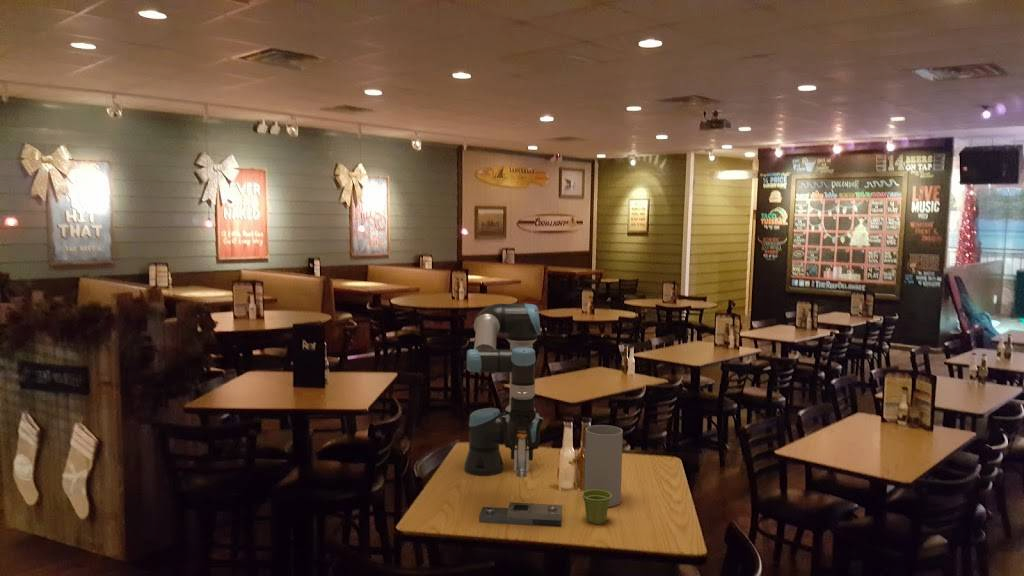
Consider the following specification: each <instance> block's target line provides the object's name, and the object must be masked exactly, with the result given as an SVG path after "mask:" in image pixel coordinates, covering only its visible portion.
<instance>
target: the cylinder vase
mask: <svg viewBox="0 0 1024 576" xmlns="http://www.w3.org/2000/svg"><path fill="white" fill-rule="evenodd" d="M623 431H624V430H623V429H622V428H621V427H617V426H615V425H607V424H598V425H597V424H596V425H590V426H588V427H586V428H585V441H584V443H585V445H584V447H585V449H584V450H585V451H584V485H583V486H584V487H583V489H584V491H587V490H604V491H607V492H609V493H610V494H611V495H612V496H611V498H610V501H609V504H608V508H610V507H612V508H613V507H616V506H618V505H620V503H621V500H622V474H623V472H622V471H623V470H622V469H623V468H622V467H623V463H622V462H623V437H624V436H623V434H624V433H623ZM584 491H583V492H584Z"/></svg>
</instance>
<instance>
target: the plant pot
mask: <svg viewBox="0 0 1024 576" xmlns="http://www.w3.org/2000/svg"><path fill="white" fill-rule="evenodd" d="M611 496H612V495H611V494H610V493H609V492H607V491H604V490H587V491H583V492H581V497H582V499H583V502H584V508H585V515H586V516H585V517H586V521H587V522H588V523H589V522H590V523H589V524H592V523H593V524H594V525H602V524H604V523H605V522H606V521H607V516H608V511H609V510H608V508H609V507H608V504H609V501H610V498H611Z"/></svg>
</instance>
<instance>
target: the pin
mask: <svg viewBox="0 0 1024 576" xmlns="http://www.w3.org/2000/svg"><path fill="white" fill-rule="evenodd" d="M516 437H517V444H516V448H517V470H516V476H517V478H526V477H527V475H528V474H527V473H528V471H526V451H527V449H528V444H527V433H526V431H518V433H516Z"/></svg>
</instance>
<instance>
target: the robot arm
mask: <svg viewBox="0 0 1024 576" xmlns="http://www.w3.org/2000/svg"><path fill="white" fill-rule="evenodd" d="M539 313H540V312H539V307H538V306H537V305H536V304H532V303H495V304H490V305H487V306H486V307H485V308H483V309H481V310H480V312H479V313H477V315H476V316H475V318H474V323H473V330H474V332H475V336H474V345H473V349H472V348H470V349H468V350H467V351H466V370H467V371H468V372H469V373H472V372H473V373H509V404H508V405H507V406H506V407H505V412H501V410H500V409H499V408H495V407H485V408H480V409H477V410H474V411H473V412H472V413H470V415H469V422H468V426H469V437H468V438H469V439H468V441H469V443H468V444H469V445H468V447H469V448H468V452H467V455H466V458H465V462H464V471H465V472H466V473H468V474H470V475H474V476H493V475H498V474H500V473H503V471H504V468H505V467H504V461H503V458H502V455H501V451H500V444H504V447H505V448H507V449H510V458H511V460H514V461H513V471H516V472H517V447H516V446H517V437H516V433H518V431H526V433H527V451H526V471H527V472H529V471H530V461H533V459H534V451H535V450H537V449H538V448H539V445H540V436H541V427H542V425H543V424H542V423H543V421H544V417H542V416H540V414H539V413H538V412H536V407H535V399H536V398H534V397H535V394H536V389H535V388H536V383H535V382H536V381H535V380H536V360H537V359H536V351H535V349H534V348H533V347H534V345H533V344H534V343H535V342H536V341H537V340H538V338H537V337H538V336H540V335H541V332H542V331H541V322H540V321H541V320H540V315H539ZM497 335H506V336H505V337H506V341H508V343H509V347H510V349H497Z"/></svg>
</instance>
